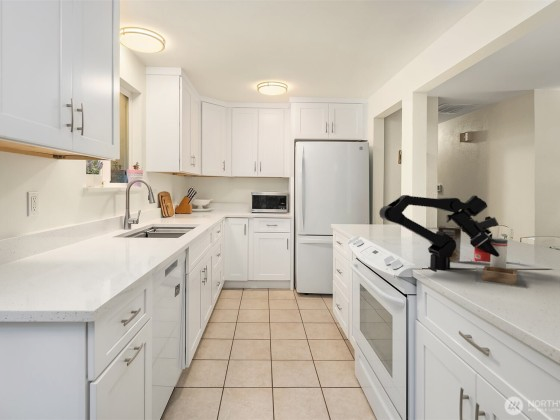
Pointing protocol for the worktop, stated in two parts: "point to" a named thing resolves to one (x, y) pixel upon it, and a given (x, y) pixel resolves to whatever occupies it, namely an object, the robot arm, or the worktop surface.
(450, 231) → the coffee box
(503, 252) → the white lens
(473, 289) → the worktop surface
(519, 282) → the rubber mat
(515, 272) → the wooden tray
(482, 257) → the canned food
